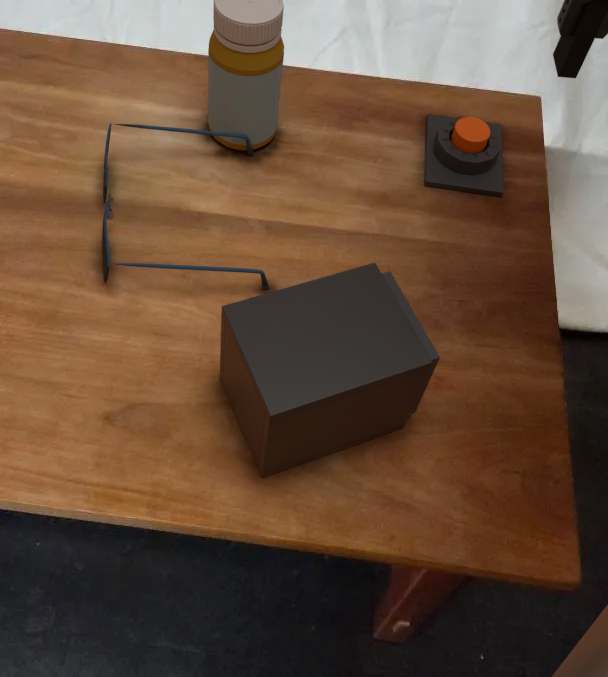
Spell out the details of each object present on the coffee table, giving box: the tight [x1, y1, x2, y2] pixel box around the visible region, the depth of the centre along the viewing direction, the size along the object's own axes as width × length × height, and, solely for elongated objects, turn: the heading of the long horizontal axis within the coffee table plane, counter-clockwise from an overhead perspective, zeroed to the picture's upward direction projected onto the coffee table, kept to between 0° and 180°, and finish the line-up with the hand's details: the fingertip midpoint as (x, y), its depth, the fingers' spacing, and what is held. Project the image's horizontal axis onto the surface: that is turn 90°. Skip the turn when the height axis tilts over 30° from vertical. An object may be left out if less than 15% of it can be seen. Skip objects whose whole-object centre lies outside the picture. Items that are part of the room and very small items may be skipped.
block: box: [423, 113, 505, 198], centre depth 85 cm, size 10×8×2 cm
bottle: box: [207, 0, 285, 152], centre depth 79 cm, size 7×7×15 cm
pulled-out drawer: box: [382, 271, 441, 416], centre depth 65 cm, size 13×8×9 cm, turn 113°
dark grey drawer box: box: [219, 262, 432, 479], centre depth 64 cm, size 13×10×11 cm
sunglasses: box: [101, 123, 270, 290], centre depth 76 cm, size 17×15×5 cm
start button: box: [451, 116, 490, 154], centre depth 84 cm, size 4×4×2 cm
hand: (564, 66), depth 67 cm, fingers closed
